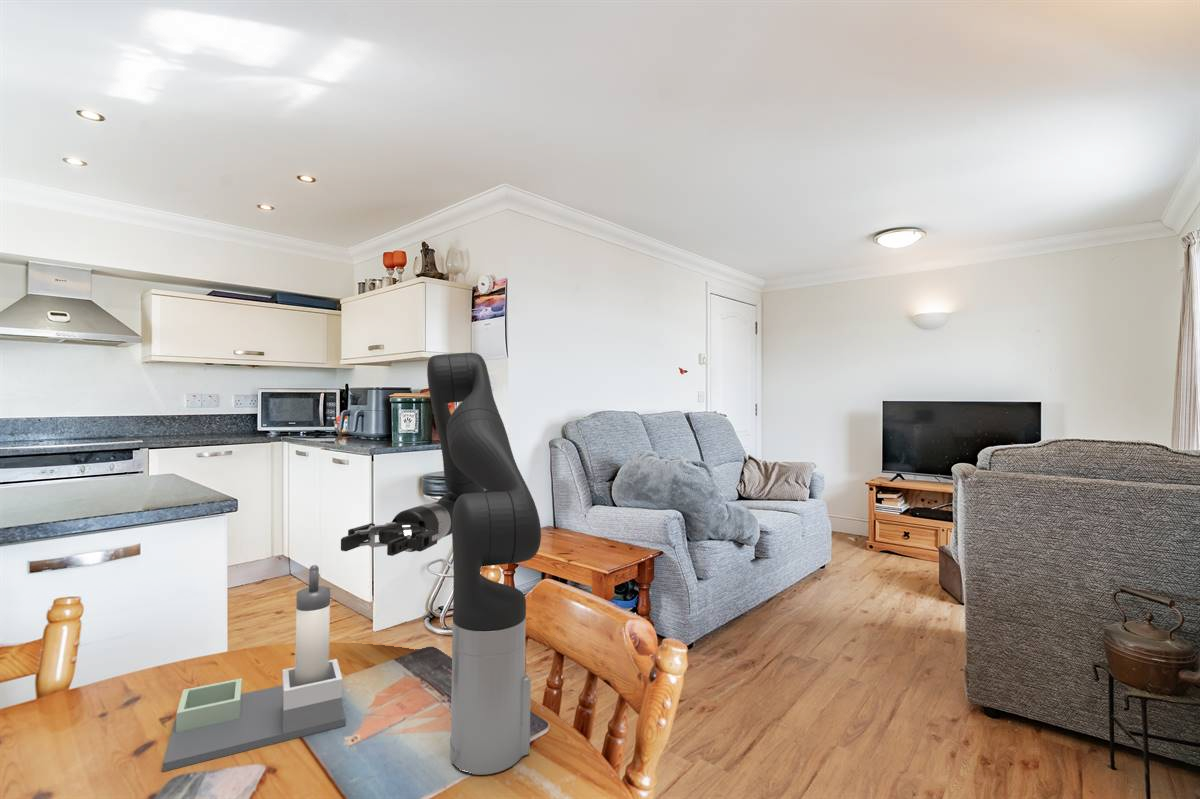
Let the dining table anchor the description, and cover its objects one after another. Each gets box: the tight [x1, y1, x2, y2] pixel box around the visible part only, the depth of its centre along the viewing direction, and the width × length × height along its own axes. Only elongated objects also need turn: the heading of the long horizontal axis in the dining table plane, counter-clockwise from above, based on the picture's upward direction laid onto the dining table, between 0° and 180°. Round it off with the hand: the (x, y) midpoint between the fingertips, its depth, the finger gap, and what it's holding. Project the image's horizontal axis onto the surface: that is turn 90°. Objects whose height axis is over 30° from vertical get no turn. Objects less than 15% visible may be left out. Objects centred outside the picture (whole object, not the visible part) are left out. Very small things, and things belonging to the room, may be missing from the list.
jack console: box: [162, 658, 347, 773], centre depth 79 cm, size 20×14×6 cm
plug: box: [294, 564, 331, 687], centre depth 79 cm, size 4×4×18 cm
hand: (365, 547), depth 89 cm, fingers open, 8 cm apart
